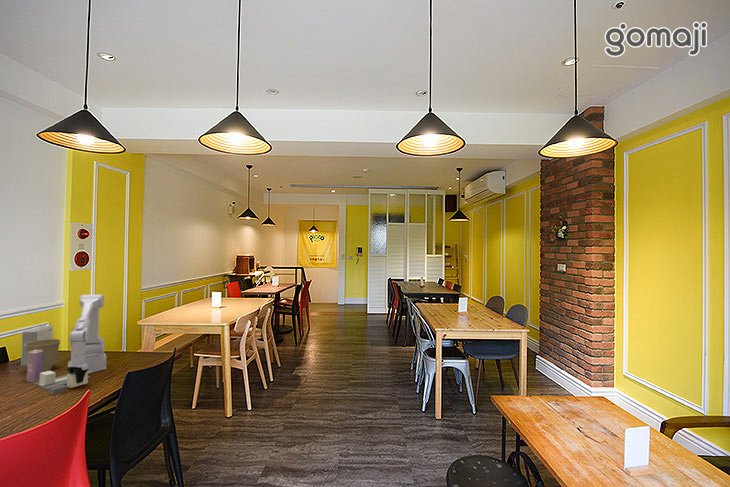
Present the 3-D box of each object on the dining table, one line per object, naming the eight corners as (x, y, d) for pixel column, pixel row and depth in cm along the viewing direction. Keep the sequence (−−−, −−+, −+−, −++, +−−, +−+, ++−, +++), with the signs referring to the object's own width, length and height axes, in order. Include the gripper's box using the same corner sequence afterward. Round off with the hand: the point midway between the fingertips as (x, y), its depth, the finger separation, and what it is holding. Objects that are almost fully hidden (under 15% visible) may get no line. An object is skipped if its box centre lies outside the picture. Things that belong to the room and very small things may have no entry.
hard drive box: (38, 358, 217) (39, 325, 218) (52, 357, 219) (54, 325, 220) (20, 366, 202) (21, 331, 203) (36, 365, 204) (37, 331, 204)
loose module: (83, 381, 178) (83, 369, 178) (87, 383, 176) (87, 370, 176) (66, 386, 172) (67, 373, 172) (70, 387, 170) (71, 375, 170)
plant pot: (17, 373, 191) (18, 343, 192) (49, 365, 205) (50, 337, 205) (32, 377, 186) (33, 347, 186) (65, 368, 199) (66, 340, 200)
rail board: (76, 373, 192) (77, 362, 192) (90, 378, 185) (90, 366, 185) (34, 384, 176) (34, 371, 176) (47, 390, 169) (48, 376, 169)
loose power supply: (63, 390, 170) (63, 384, 170) (66, 392, 168) (66, 386, 168) (49, 394, 165) (50, 388, 165) (53, 396, 163) (53, 389, 163)
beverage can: (45, 378, 185) (46, 349, 185) (33, 382, 179) (34, 353, 179) (35, 377, 185) (36, 349, 185) (23, 381, 179) (24, 352, 179)
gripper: (61, 354, 174) (60, 381, 174) (76, 358, 168) (75, 387, 167) (78, 350, 180) (77, 377, 180) (93, 355, 174) (92, 382, 174)
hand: (77, 381), depth 174 cm, fingers closed on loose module, 4 cm apart
